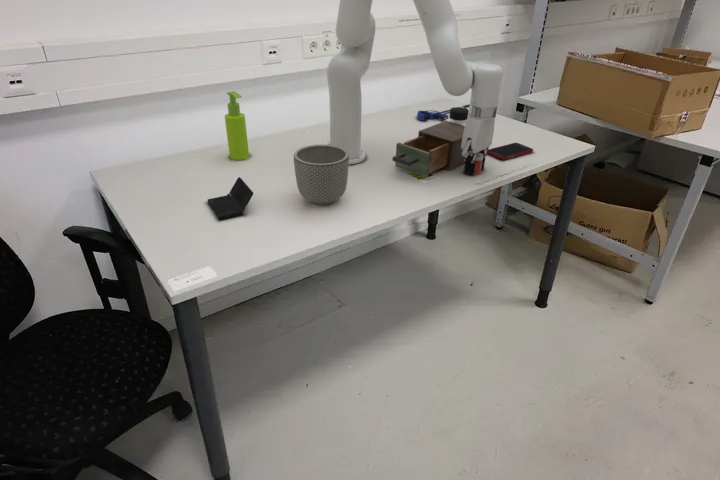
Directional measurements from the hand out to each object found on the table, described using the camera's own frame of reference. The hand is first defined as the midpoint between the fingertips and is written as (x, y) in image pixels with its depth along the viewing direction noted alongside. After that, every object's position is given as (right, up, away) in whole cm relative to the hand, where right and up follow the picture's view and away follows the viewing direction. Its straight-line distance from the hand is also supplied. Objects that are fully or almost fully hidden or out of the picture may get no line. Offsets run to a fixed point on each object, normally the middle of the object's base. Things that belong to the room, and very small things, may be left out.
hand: (473, 170), depth 146 cm
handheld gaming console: (-67, -13, -22) cm, 71 cm away
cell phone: (+15, +8, +14) cm, 22 cm away
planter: (-44, -11, -18) cm, 48 cm away
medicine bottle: (-1, +12, +21) cm, 24 cm away
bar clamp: (+1, +30, +50) cm, 58 cm away
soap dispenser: (-71, +5, +7) cm, 72 cm away
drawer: (-16, +1, 0) cm, 16 cm away
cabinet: (-7, +5, +9) cm, 12 cm away
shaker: (0, 0, 0) cm, 0 cm away
